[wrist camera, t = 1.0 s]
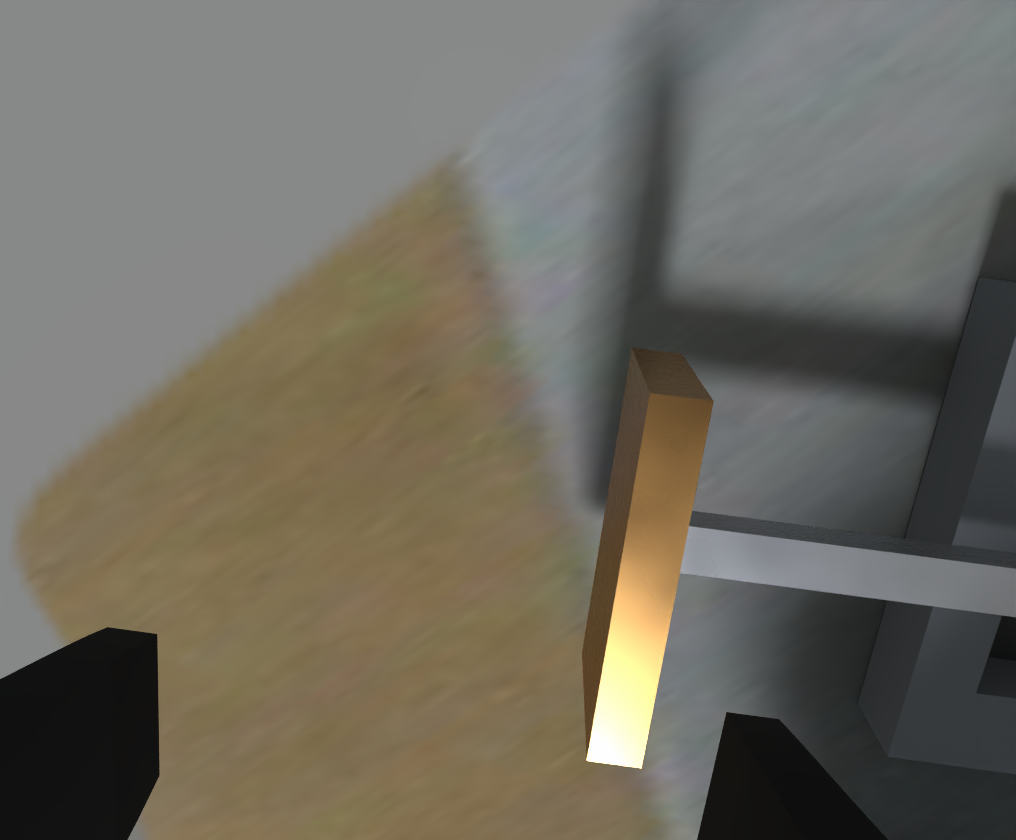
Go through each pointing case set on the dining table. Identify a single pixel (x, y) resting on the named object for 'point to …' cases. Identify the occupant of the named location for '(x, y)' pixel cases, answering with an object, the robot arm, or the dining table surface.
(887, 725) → the tunnel deck
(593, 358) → the dining table surface
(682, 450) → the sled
